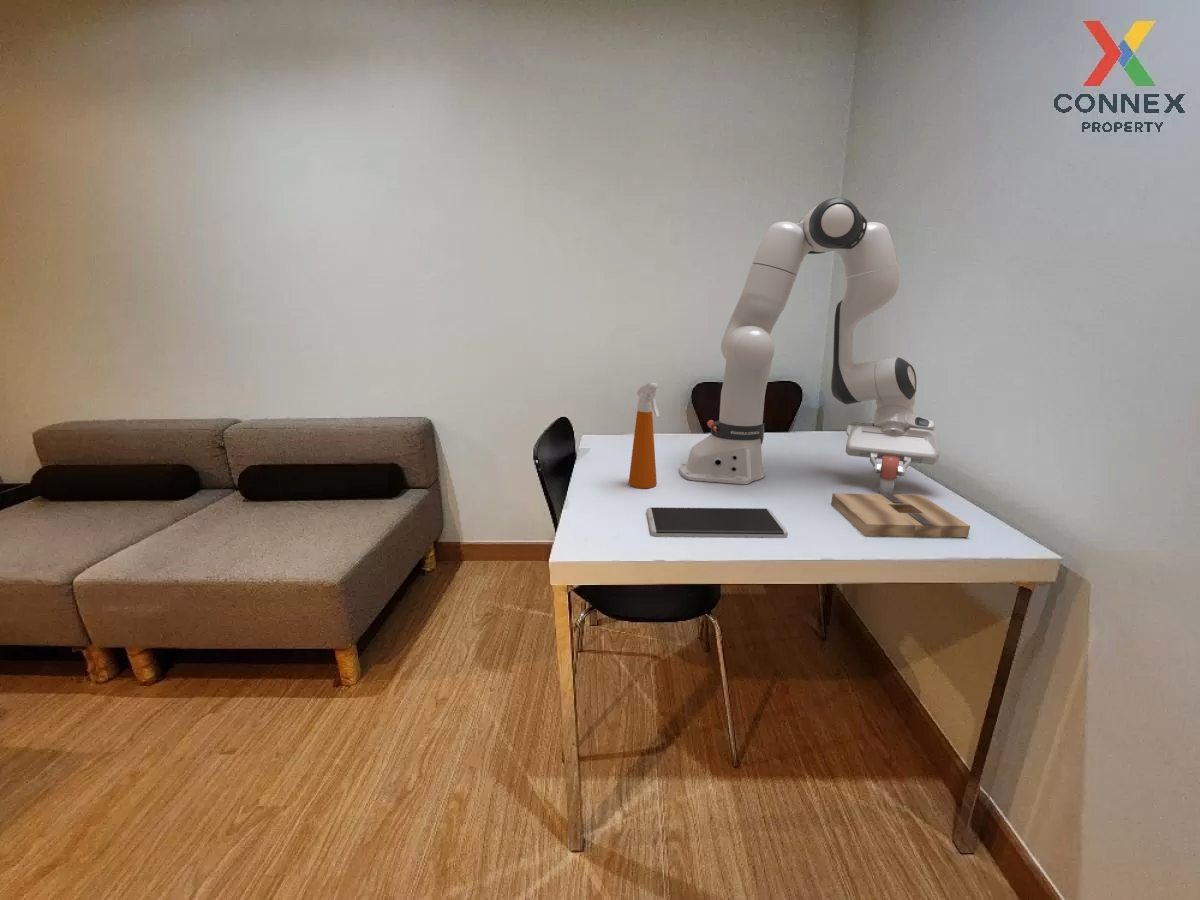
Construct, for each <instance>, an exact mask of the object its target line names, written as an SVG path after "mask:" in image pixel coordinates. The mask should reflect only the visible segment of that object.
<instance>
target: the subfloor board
mask: <svg viewBox="0 0 1200 900" xmlns="http://www.w3.org/2000/svg"><path fill="white" fill-rule="evenodd" d="M831 495H832V496H831V501H830V502H831V505H832V506H833V507H834V509H836V510H837V511H839V513H840V514H841V515H842V516H843V517H844V518H846V519H847V520H848V521H849V522H850V523H851V524H852V525H853V526H854V527H855V528H856V529H857V530H858V531H860V533H861V534H862V535H863V536H864V537H895V538H897V537H901V538H903V537H905V538H947V537H968V538H969V534H970V529H971V526H970V524H968V523H966V522H964V521H963V520H961V519H960V518H959V517H956V516H955V515H954V514H952V513H950V512H949V511H947V510H946V509H945V508H943V507H941V506H939V505H938V504H936V503H935V502H933V501H932V500H930V499H929V498H927V497H926V496H924V495H922V494H894V493H893V494H887V493H881V494H880V493H878V494H877V493H872V494H871V493H837V492H836V493H832V494H831Z"/></svg>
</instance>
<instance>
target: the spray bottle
mask: <svg viewBox="0 0 1200 900" xmlns="http://www.w3.org/2000/svg"><path fill="white" fill-rule="evenodd" d="M658 387H659V385H658V383H656V382H649V383H646V384H645V385H643V386H640V388H639V389H638V390H637V391H636V394H637V396H638V402H637V412H636V418H635V424H634V425H635V427H634V434H633V442H632V451H631V460H630V467H629V477H628V485H629V486H630V487H631V488H632V487H633V488H635V489H643V490H644V489H645V490H646V489H652V488H655V487H656V485H657V484H658V483H657V482H658V481H657V467H656V466H657V465H656V452H655V450H656V449H655V436H654V435H655V434H654V420H653V413H654V416H655V417H656V418H660V414H659V409H658V406H657V401H656V400H657V399H656V394H657V389H659V388H658Z"/></svg>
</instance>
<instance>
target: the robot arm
mask: <svg viewBox="0 0 1200 900" xmlns="http://www.w3.org/2000/svg"><path fill="white" fill-rule="evenodd" d="M829 252H836V253H837V254H838V255H839V256H840V257H841V259H842V261H843V263H844V269H845V277H846V288H845V289H846V290H845V293H844V296H843V298H842V300H840V301H839V302H838V303H837V304H836V308H835V311H834V312H835V313H834V320H833V321H834V325H833V349H832V350H833V352H832V353H833V355H832V358H833V359H832V360H833V361H832V371H831V381H830V388H831V393H832V396H833V398H834V399H836V400H837V401H839V402H840V403H842V404H845V405H847V406H848V405H851V404H856V403H861V402H867V401H875V405H876V409H875V411H874V414H873V422H859V421H854V422H853V423H849V424H848V425H847V427H846V431H845V432H846V435H847V440H846V444H845V445H846V446H845V453H846V454H847V455H848V456H851V457H858V458H859V457H861V458H869V462H870V464H871V465H872V467H873V473H874V474H880V473H881V464H882V463H878V462H877V460H878V459H879V460H882V457H883V456H895V457H898V458H900V459H899V462H902V466H900V465H898V471H897V477H904V476H905V471H906V470H907V469H908V467H909V466H910V465H911V463H913V464H914V463H915V464H916V463H917V464H925V465H934V464H936V463H937V462H938V461H939V458H940V442H939V437H938V435H937V433H936V432H935V422H934V421H933V420H931V419H929V418H926V417H922V416H919V415H916V414H915V413H914V409H913V408H914V405H915V402H916V392H917V375H916V370H915V369H914V367H913V365H912V364H910V363H909V362H908V361H907V360H905V359H904V358H902V357H891V358H890V357H889V358H883V359H878V360H872V361H866V362H860V363H855V362H853V348H854V346H853V345H854V344H853V342H854V331H855V328H856V326H857V325H858V324H859V322H861V321H862V320H863V319H865V318H866V317H868V316H869V315H871V314H873V313H875V312H876V311H878V310H879V309H881V308H883V307H885V305H887V304H888V303H889V302H891V300H892V299H893V298H894V296H896V294H897V292H898V290H899V285H900V274H899V266H898V260H897V254H896V250H895V246H894V242H893V239H892V236H891V233H890V230H889V228H888V227H887V225H885V224H884V223H881V222H876V221H869V222H868V221H867V219H866V217H864V215H863V214H862V213H861V212H860V211H859V209H858V207H857V206H856V204H854V203H853V202H852V201H851V200H849V199H847V198H844V197H832V198H828V199H826V200H823V201H822V202H821V203H818V204H817V205H815V206H814V207H812V208H811V209H810V210H809V211H808V212H807V214H805V216H803V217H802V218H801V219H800V220H799V221H798V222H792V221H778V222H775V223H773V224H772V225H771V226H769V228H768V230H767V231H766V232H765V234H764V236H763V238H762V239H761V242H760V244H759V245H758V247H757V250H756V252H755V255H754V258H753V259H752V263H751V265H750V269H749V272H748V275H747V277H746V280H745V283H744V286H743V288H742V291H741V294H740V297H739V298H738V300H737V304H736V306H735V308H734V309H733V312H732V315H731V316H730V319H729V322H728V324H727V327H726V329H725V331H724V334H723V337H722V339H721V343H720V349H721V353H722V355H723V357H724V359H725V368H724V369H725V370H724V374H723V380H722V387H721V391H720V404H719V419H718V420H717V421H714V420H712V419H710V420H709V419H708V421H707V423H706V424H707V426H708V428H710V434H709V435H708V436H706V437H705V438H704V439H702V440H701V441H699V442H698V443H696V444H695V445H692V447H691V449H690V450H689V453H688V457H687V461H683V462H682V463H680V465H679V468H678V472H679V475H680V476H681V477H683V478H684V479H686V480H689V481H696V482H698V481H699V482H710V483H711V482H712V483H724V484H725V483H726V484H735V485H736V484H737V485H748V484H751V482H754V481H758V480H761V479H763V478H765V476H766V475H765V471H764V464H763V457H762V456H763V454H762V444H764V443H763V441H764V437H765V423H763V421H764V410H765V409H764V408H765V398H766V397H765V396H766V390H767V385H768V383H769V378H770V373H771V367H772V362H773V358H774V354H775V344H774V340H773V338H772V336H771V333H772V331H773V329H774V327H775V325H776V324H777V321H778V320H779V317H780V316H781V314H782V313H783V311H784V310H785V308H786V305H787V302H788V300H789V297H790V295H791V292H792V290H793V286H794V284H795V282H796V278H797V277H798V276H797V275H798V272H799V270H800V266H801V263H803V261H804V258H805V257H806V256H807V255H809V254H810V255H819V254H824V253H829Z"/></svg>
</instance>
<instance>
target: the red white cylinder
mask: <svg viewBox="0 0 1200 900" xmlns="http://www.w3.org/2000/svg"><path fill="white" fill-rule="evenodd" d="M899 459H900V458H898V457H895V456H883V457H882V459H881V463H880V464H881V473H879V478H880V480H879V481H880V482H879V489H878V494H881V493H887V494H894V488H895V481H896V480H897V478H898V476H897V471H898V466H900V465H899V463H900V461H899Z"/></svg>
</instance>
